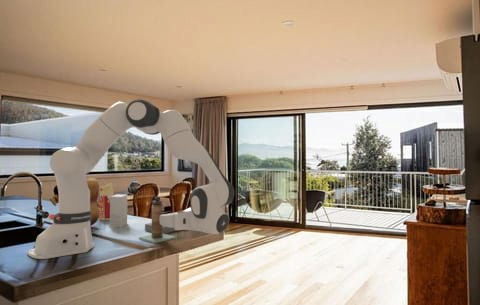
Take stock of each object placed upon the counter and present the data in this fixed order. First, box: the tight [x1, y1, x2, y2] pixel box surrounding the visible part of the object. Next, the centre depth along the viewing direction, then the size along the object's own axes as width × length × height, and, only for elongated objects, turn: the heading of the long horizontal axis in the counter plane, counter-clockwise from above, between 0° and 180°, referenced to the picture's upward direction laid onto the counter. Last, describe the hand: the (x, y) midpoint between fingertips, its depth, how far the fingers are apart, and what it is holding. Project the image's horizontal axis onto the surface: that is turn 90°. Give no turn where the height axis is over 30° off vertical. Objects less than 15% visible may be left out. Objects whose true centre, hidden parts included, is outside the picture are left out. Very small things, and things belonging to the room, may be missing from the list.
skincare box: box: [109, 193, 128, 228], centre depth 177 cm, size 8×7×16 cm
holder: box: [144, 222, 179, 234], centre depth 168 cm, size 16×12×3 cm
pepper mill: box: [151, 196, 164, 238], centre depth 149 cm, size 5×5×18 cm
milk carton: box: [98, 182, 115, 221], centre depth 197 cm, size 9×9×20 cm
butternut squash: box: [86, 177, 100, 226], centre depth 172 cm, size 14×13×25 cm
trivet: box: [138, 233, 176, 244], centre depth 149 cm, size 11×11×1 cm
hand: (171, 214), depth 144 cm, fingers open, 8 cm apart
